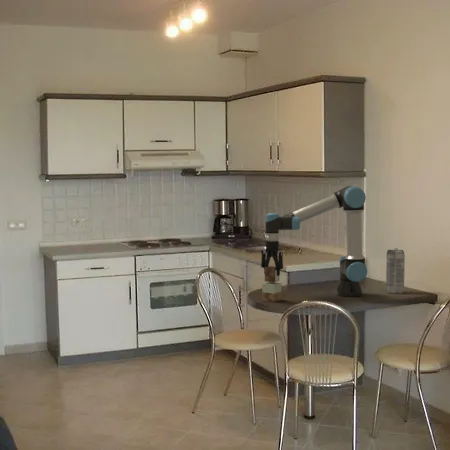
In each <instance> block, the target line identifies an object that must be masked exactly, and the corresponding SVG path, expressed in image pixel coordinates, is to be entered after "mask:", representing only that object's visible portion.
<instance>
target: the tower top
mask: <svg viewBox="0 0 450 450" xmlns="http://www.w3.org/2000/svg"><path fill="white" fill-rule="evenodd" d="M261 286H262V287H261V290H262V291H261V293H262V292H265V293H273V294H275V293H278V292H281V293H282V282H279V281H277V282H266V281H265V282H262V284H261Z"/></svg>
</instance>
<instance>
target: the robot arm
mask: <svg viewBox="0 0 450 450" xmlns="http://www.w3.org/2000/svg"><path fill="white" fill-rule="evenodd" d="M366 197H367V196H366V193H365V191H364V190H363V189H362V188H361V187H359V186H352V185H347V186H345V187H343V188H341V189H339V190H337V191H335V192H333V193H332V194H331V196H327V197H325V198H323V199H320V200H317V201H316V202H314V203H311V204H309V205H306V206H304V207H302V208H299V209H296V210H294V211H292V212H289V213H287V214H283V215H282V216H280V215H279V213H275V212H274V213H273V212H270V213H266V215H265V249H263V250H261V251H260V252H261V259H260V260H261V262H260V263H261V264H260V265H261V266H260V267H261V268H263V274H264V275H265V267H269V265H270V262H271V258H272V259H273V260H274V265H275V266H274V267H276V270H275V282H280V276H281V270H283V269H284V263H283V262H284V261H283V260H284V258H283V257H284V256H283V255H284V251H280V250H279V247H280V245H279V239H280V237H279V236H280V235H279V232H280V231H298V230H300V228H301V223H303V222H305V221H307V220H310V219H312V218H315V217H317V216H320V215H322V214H324V213H326V212H329V211H332V210H334V209H341V208H342V209H343V212H344V213H345V216H346V217H345V219H346V220H345V222H346V223H345V224H346V226H345V227H346V256H344V255H343V256H340V257H339V283H338V286H337V289H336V295H337V296H340V297H345V298H346V297H348V298H351V297H353V298H354V297H361V296H363V289H362V285H361V282H362V281H363V280H365V279H366V277H367V275H368V267H367V266H366V256H364V255H363V230H362V229H363V226H362V225H363V223H362V213H363V212H364V210H365V203H366Z"/></svg>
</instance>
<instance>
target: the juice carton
mask: <svg viewBox="0 0 450 450" xmlns="http://www.w3.org/2000/svg"><path fill="white" fill-rule="evenodd" d="M404 251H405V250H403V249H399V248H398V247H393V248H392V249H387V250H386V260H385V261H386V267H385V268H386V270H385V277H386V278H385V286H386V287H385V288H386V291H387V294H395V295H396V294H398V295H399V294H400V295H402V294H403V293H404V289H405V263H406V262H405V258H406V257H405V252H404Z"/></svg>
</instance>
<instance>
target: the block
mask: <svg viewBox="0 0 450 450" xmlns="http://www.w3.org/2000/svg"><path fill="white" fill-rule="evenodd" d="M275 270H276V266H274V265H273V266H271V265H270V266H269V265H268V267H265V274H264V282H265V283H266V282H275Z"/></svg>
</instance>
